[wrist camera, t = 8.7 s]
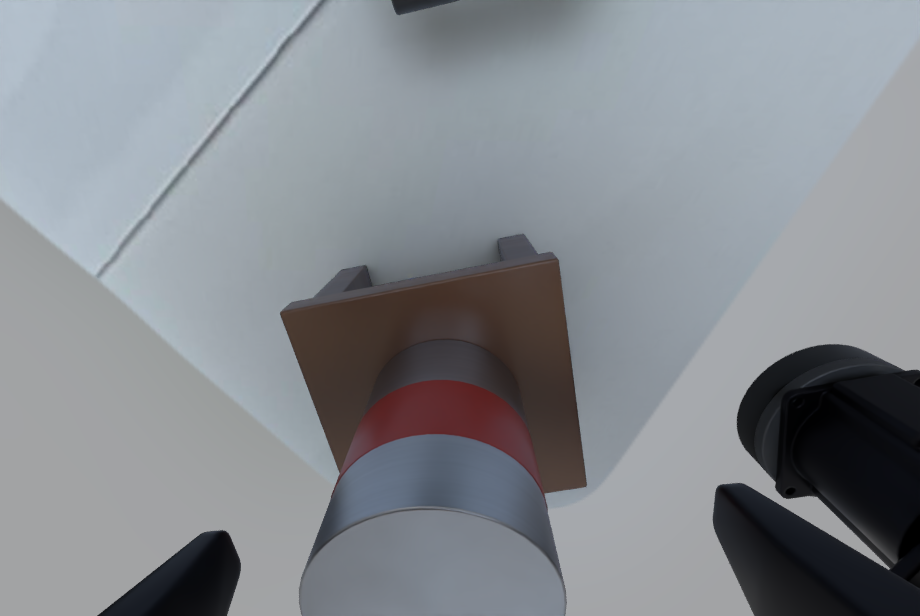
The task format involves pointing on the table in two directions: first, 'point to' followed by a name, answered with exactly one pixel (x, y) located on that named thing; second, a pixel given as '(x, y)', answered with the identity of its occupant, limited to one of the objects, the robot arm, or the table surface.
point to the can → (437, 499)
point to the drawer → (416, 5)
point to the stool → (447, 318)
